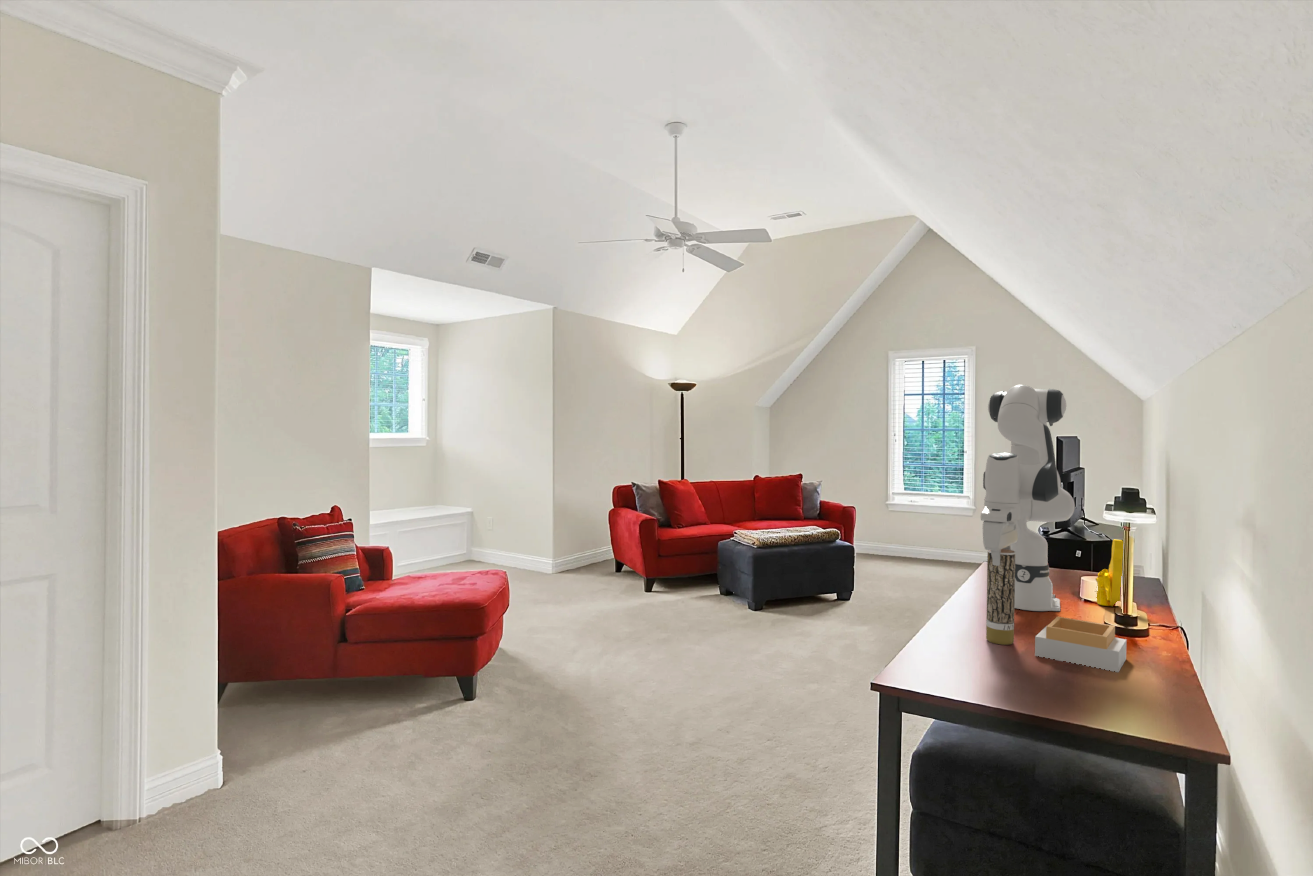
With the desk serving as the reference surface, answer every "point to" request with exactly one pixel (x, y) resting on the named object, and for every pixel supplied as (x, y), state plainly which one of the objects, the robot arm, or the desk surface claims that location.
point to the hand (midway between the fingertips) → (1001, 563)
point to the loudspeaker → (1081, 643)
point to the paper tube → (1000, 598)
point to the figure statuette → (1111, 577)
